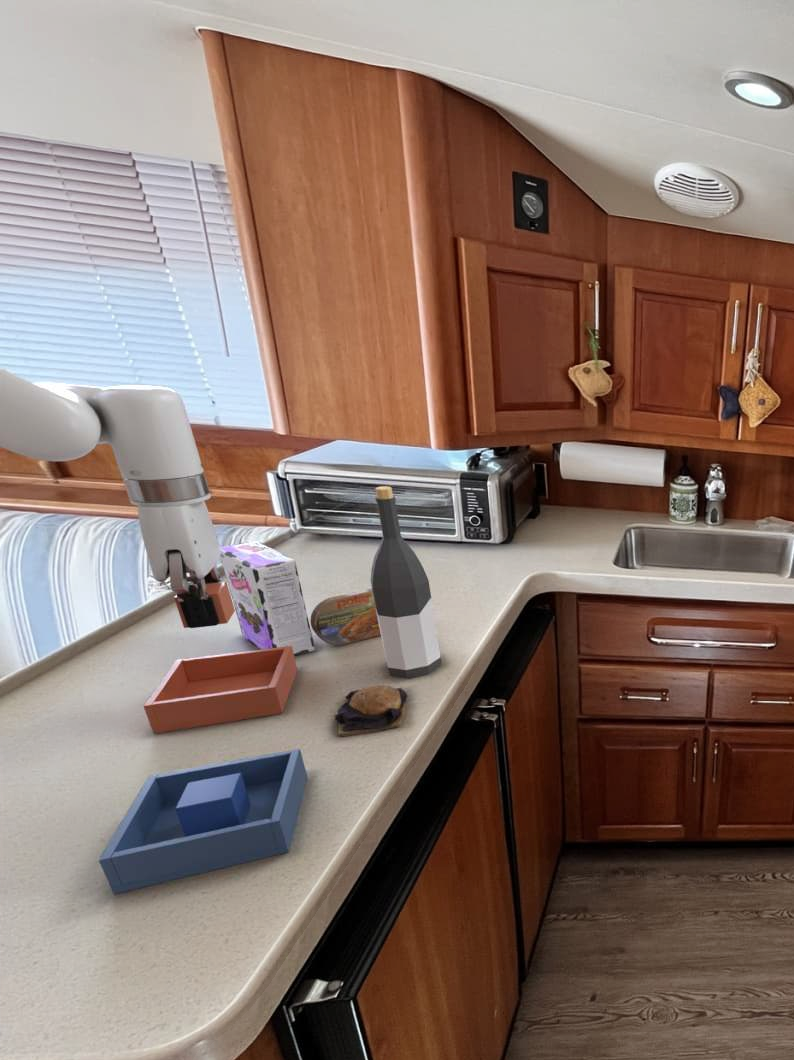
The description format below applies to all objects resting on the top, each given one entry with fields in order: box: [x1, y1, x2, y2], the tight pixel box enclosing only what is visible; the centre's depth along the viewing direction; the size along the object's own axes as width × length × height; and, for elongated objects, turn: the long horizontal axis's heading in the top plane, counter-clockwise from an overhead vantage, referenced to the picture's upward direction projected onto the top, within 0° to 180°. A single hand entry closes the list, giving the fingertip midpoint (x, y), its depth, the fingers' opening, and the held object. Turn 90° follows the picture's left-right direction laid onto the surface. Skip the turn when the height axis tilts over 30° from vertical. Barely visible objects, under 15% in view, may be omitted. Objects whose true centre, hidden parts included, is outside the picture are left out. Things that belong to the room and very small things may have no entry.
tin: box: [310, 587, 381, 646], centre depth 112 cm, size 15×3×8 cm, turn 141°
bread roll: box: [334, 684, 408, 737], centre depth 91 cm, size 11×8×4 cm
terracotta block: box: [173, 581, 236, 629], centre depth 87 cm, size 4×4×4 cm
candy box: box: [219, 540, 316, 657], centre depth 105 cm, size 14×6×16 cm, turn 57°
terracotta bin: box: [143, 646, 299, 734], centre depth 92 cm, size 14×14×4 cm
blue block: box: [175, 773, 251, 837], centre depth 69 cm, size 4×4×4 cm
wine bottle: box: [370, 485, 442, 679], centre depth 99 cm, size 8×8×30 cm
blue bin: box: [98, 748, 308, 895], centre depth 69 cm, size 14×14×4 cm
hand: (209, 617), depth 88 cm, fingers closed on terracotta block, 4 cm apart
